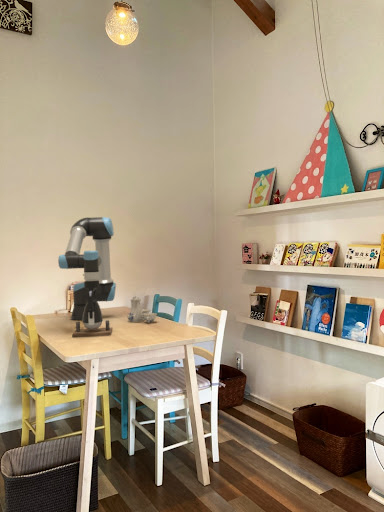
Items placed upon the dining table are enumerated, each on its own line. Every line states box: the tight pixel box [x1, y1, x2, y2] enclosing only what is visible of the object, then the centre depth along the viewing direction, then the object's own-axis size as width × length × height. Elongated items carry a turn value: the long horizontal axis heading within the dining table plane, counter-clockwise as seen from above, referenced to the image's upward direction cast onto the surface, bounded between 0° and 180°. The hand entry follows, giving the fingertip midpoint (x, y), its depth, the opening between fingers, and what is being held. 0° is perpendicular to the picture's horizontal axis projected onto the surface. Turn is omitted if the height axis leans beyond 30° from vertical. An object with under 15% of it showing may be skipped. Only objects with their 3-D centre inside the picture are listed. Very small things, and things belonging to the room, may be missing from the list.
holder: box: [71, 319, 113, 338], centre depth 209 cm, size 13×19×6 cm
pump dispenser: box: [81, 300, 103, 329], centre depth 209 cm, size 10×10×15 cm
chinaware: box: [126, 294, 158, 324], centre depth 245 cm, size 28×17×17 cm, turn 24°
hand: (92, 322), depth 209 cm, fingers closed on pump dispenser, 10 cm apart
